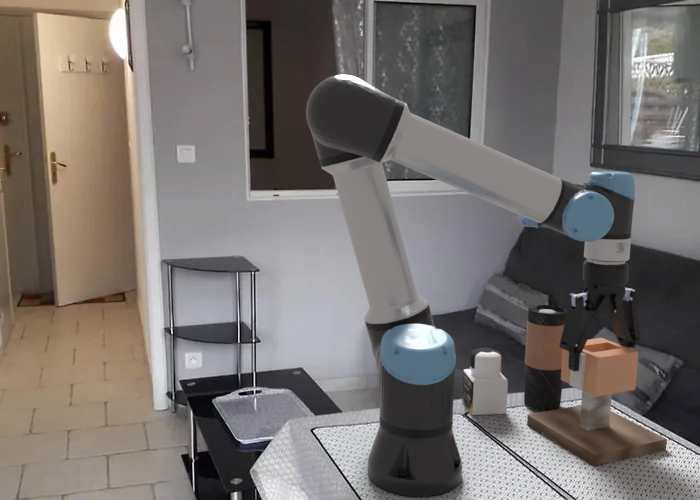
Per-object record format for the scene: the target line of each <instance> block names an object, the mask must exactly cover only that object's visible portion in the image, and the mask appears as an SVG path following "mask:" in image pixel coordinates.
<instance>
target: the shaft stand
mask: <svg viewBox="0 0 700 500" xmlns="http://www.w3.org/2000/svg"><path fill="white" fill-rule="evenodd" d="M581 391H582V390H581ZM612 395H613V394H609V395H603V396H598V397H595V396H593V395H591V394H589V393H587V392H585V391H582V392H581V401H580V402H581V404H579V405H573V406H569V407H567V406H566V407H563V408H559V409H556V410H551V411H539V412H536V413H535V412H534V413H531V414H530V413H529V414H527V419H526V421H527V422H526V425H527V426H528V425H529V427H530V426H531V427H530V428H532V429H533V428H534V429H533V430H535V429H536V430H535V431H537V430H538V431H539V432H538V431H537V432H538V433H540V432H541V433H543V434H544V435H543V434H542V435H543V436H545V435H546V436H547V437H546V436H545V437H546V438H548V437H549V438H548V439H550V438H551V439H553V440H554V441H556V442H557V443H556V442H555V443H556V444H558V443H559V444H560V445H559V444H558V445H559V446H561V447H562V446H563V448H564V449H566V450H567V451H569V452H571V453H572V454H574V455H576V456H577V457H579V458H580V459H581V460H584V461H585V462H587V463H588V464H590V465H592V466H593V467H597V466H602V465H606V464H611V463H615V462H620V461H623V460H622V459H624V460H627V459H626V458H628V459H631V458H630V457H632V458H635V457H636V456H637V457H642V456H645V455H650V454H653V453H654V454H655V453H658V452H662V451H667V445H668V444H667V443H668V439H667V438H666V437H663V436H661V435H660V434H658V433H655V432H653V431H651V430H650V429H648V428H645V427H644V426H642V425H639V424H637V423H636V422H633V421H632V420H630V419H627V418H625V417H623V416H622V415H619V414H618V413H616V412H614V411H611V408H612V407H611V406H612V405H611V404H612ZM541 433H540V434H541ZM551 439H550V440H551ZM553 440H552V441H553ZM554 441H553V442H554Z"/></svg>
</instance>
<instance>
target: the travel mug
mask: <svg viewBox="0 0 700 500" xmlns="http://www.w3.org/2000/svg"><path fill="white" fill-rule="evenodd" d="M567 312H568V309H566V308H564V307H561V306H557V305H549V304H538V305H537V306H536V307H533V308H531V307H530V306H529V307H528V309H527V323H526V336H525V337H526V338H525V353H524V354H525V355H524V356H525V357H524V383H523V386H524V388H523V389H524V390H523V401H524V406H526V407H527V408H529V409H531V410H534V411H539V412H545V411H551V410H556V409H561V401H562V393H563V392H562V391H563V383H564V381H562V380H561V368H562V351H563V349H562V348H560V341H561V337H562V333H563V329H564V324H565V320H566V316H567Z"/></svg>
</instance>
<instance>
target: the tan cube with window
mask: <svg viewBox="0 0 700 500" xmlns="http://www.w3.org/2000/svg"><path fill="white" fill-rule="evenodd" d="M619 344H620V343H616V342H614V341H612V340H609V339H606V338H603V337H597V338H591V339H589V338H588V340H587V342H586V344H585V346H584V349H583V351H582V353H584V354H586V356H585V371H584V386H583V390H581V391H585V392H587V393H589V394H591V395H593V396H595V397H598V396H603V395H609V394H612V395H614V394H620V393H625V392H631V391H636V388H637V387H636V386H637V378H638V377H637V376H638V375H637V374H638V363H639V351H637V350H635V349H634V348H631V347H630V348H627V347H625V346H622V345H619ZM576 346H577V344H576ZM568 362H569V351H567V350H565V349H563V351H562V368H561V380H562V381H563V383H567V384H569V385H570V371H571V370H570V369H569V367H568V364H569V363H568Z"/></svg>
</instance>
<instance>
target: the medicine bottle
mask: <svg viewBox="0 0 700 500" xmlns="http://www.w3.org/2000/svg"><path fill="white" fill-rule="evenodd" d="M502 355H503V354H501V352H500V351H499V350H496V349H494V348H490V347H489V348H488V347H479V348H476V349H473V350H472V351H471V352H470V363H469V364H470V365H469V366H470V367H469V368H465V369H463V370H462V371H463V373H462V374H463V375H462V376H463V377H462V395H461V396H462V403H463V405H464V406H465V407H466V409H467V411H468V412H469V413H470V414H471V416H486V415H506V414H507V410H508V409H507V408H508V407H507V405H508V388H509V387H508V386H509V380H508V379H507V378H506V377H505V376H504V375H503V374H502V358H503V357H502Z"/></svg>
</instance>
